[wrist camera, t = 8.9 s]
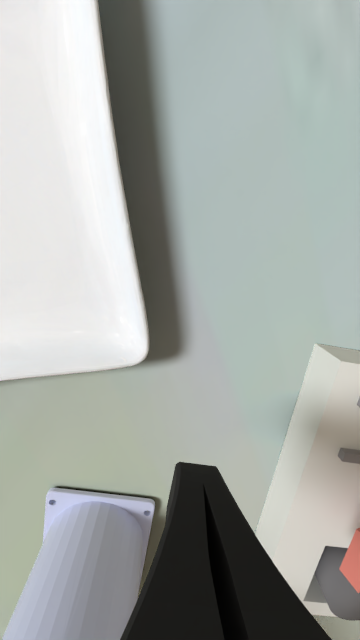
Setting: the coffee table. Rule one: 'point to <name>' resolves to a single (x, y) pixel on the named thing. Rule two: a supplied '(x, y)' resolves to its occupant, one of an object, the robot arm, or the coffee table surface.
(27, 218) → the salad plate
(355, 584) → the plate
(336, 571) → the button
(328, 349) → the panel
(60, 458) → the coffee table surface
